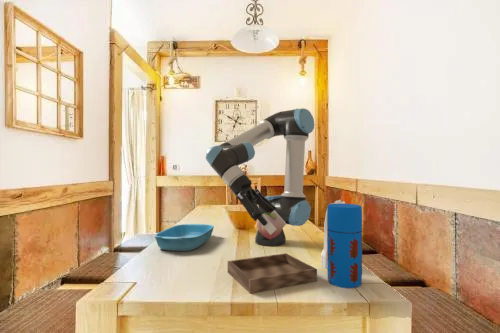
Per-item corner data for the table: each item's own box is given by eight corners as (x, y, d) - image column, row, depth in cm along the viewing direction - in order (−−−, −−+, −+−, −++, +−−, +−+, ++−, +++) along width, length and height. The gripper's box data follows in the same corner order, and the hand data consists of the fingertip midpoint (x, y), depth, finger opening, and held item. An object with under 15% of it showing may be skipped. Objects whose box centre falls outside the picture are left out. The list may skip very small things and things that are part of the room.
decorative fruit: (288, 240, 104) (288, 211, 104) (269, 244, 100) (269, 213, 100) (271, 235, 112) (271, 207, 112) (253, 238, 108) (253, 209, 108)
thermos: (361, 278, 104) (361, 204, 104) (362, 290, 94) (362, 208, 94) (328, 274, 108) (328, 202, 108) (325, 285, 98) (325, 206, 98)
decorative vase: (334, 272, 110) (334, 202, 110) (315, 263, 119) (315, 199, 119) (357, 267, 115) (357, 200, 115) (336, 259, 124) (336, 198, 124)
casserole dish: (179, 234, 171) (179, 221, 171) (218, 236, 168) (218, 223, 168) (146, 253, 135) (146, 237, 135) (195, 255, 131) (195, 239, 131)
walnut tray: (285, 263, 120) (285, 253, 120) (316, 281, 101) (316, 269, 101) (227, 272, 110) (227, 261, 110) (250, 293, 92) (250, 280, 92)
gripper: (244, 186, 122) (282, 230, 115) (214, 190, 103) (258, 243, 96) (256, 173, 120) (296, 217, 113) (228, 174, 100) (274, 227, 93)
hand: (278, 229), depth 104 cm, fingers closed on decorative fruit, 9 cm apart
